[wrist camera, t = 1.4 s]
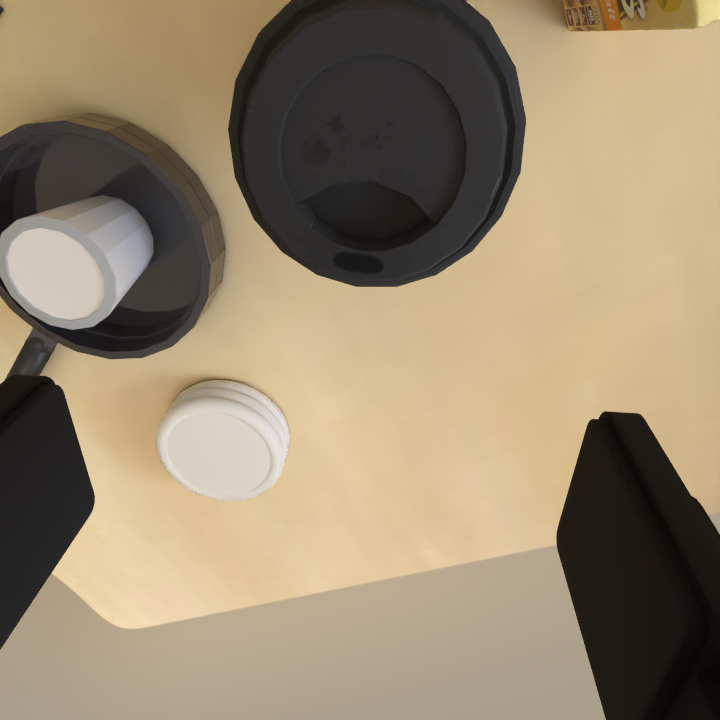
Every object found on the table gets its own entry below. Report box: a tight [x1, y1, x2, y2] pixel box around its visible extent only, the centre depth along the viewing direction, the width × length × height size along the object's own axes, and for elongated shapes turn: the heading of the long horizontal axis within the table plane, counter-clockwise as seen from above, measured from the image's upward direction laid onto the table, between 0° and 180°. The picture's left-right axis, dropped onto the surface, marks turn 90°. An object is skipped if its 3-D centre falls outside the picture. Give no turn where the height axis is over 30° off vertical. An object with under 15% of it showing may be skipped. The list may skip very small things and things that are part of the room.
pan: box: [0, 114, 225, 359], centre depth 36 cm, size 15×15×4 cm
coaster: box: [156, 380, 290, 501], centre depth 44 cm, size 10×10×4 cm
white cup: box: [0, 195, 153, 330], centre depth 34 cm, size 7×7×7 cm
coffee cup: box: [228, 0, 526, 287], centre depth 26 cm, size 11×11×15 cm
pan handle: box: [5, 327, 58, 380], centre depth 41 cm, size 12×2×2 cm, turn 141°
